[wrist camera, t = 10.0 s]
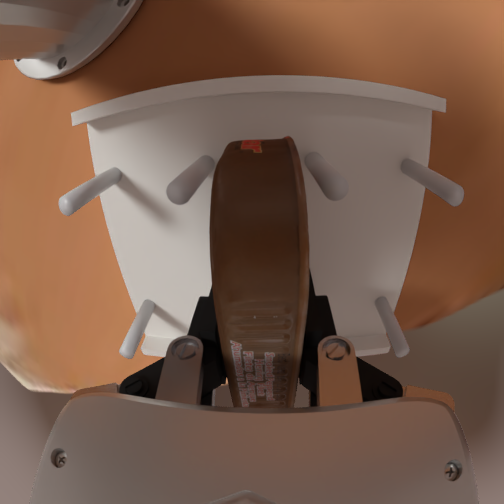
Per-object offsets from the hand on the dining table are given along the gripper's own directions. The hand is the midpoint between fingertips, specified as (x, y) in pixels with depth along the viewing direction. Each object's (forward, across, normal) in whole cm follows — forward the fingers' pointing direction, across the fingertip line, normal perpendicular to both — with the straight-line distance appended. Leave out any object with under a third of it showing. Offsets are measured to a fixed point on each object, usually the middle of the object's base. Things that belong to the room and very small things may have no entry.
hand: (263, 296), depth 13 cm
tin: (+4, +1, 0) cm, 4 cm away
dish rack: (+6, 0, 0) cm, 6 cm away
